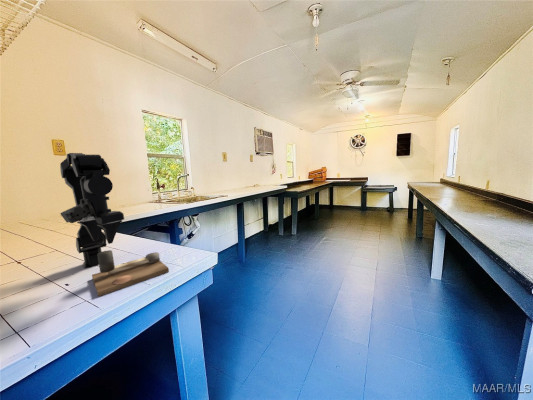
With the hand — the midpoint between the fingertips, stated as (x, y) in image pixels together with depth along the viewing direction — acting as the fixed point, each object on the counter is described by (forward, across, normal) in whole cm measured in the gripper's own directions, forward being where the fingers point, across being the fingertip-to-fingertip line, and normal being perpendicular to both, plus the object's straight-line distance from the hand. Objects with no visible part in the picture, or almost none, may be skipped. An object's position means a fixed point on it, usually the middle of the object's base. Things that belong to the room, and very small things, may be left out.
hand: (102, 241), depth 71 cm
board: (+13, +4, +5) cm, 15 cm away
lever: (+11, +2, +7) cm, 13 cm away
